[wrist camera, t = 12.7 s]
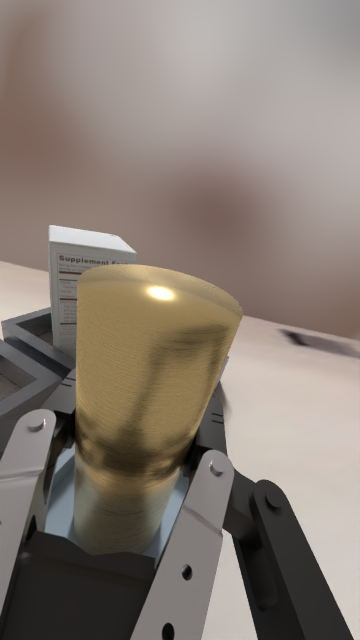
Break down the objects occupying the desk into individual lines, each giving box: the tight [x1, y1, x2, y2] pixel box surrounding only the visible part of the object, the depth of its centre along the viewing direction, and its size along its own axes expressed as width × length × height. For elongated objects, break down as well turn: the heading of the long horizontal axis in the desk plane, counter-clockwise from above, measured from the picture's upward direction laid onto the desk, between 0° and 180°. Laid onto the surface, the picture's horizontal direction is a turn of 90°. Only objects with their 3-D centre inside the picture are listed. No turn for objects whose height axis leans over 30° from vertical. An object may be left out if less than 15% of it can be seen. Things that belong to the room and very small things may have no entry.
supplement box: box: [48, 225, 137, 359], centre depth 24 cm, size 7×7×13 cm
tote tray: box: [45, 443, 189, 568], centre depth 13 cm, size 9×9×2 cm
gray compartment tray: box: [0, 307, 76, 420], centre depth 22 cm, size 12×23×2 cm, turn 155°
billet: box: [74, 264, 243, 556], centre depth 10 cm, size 5×5×14 cm
